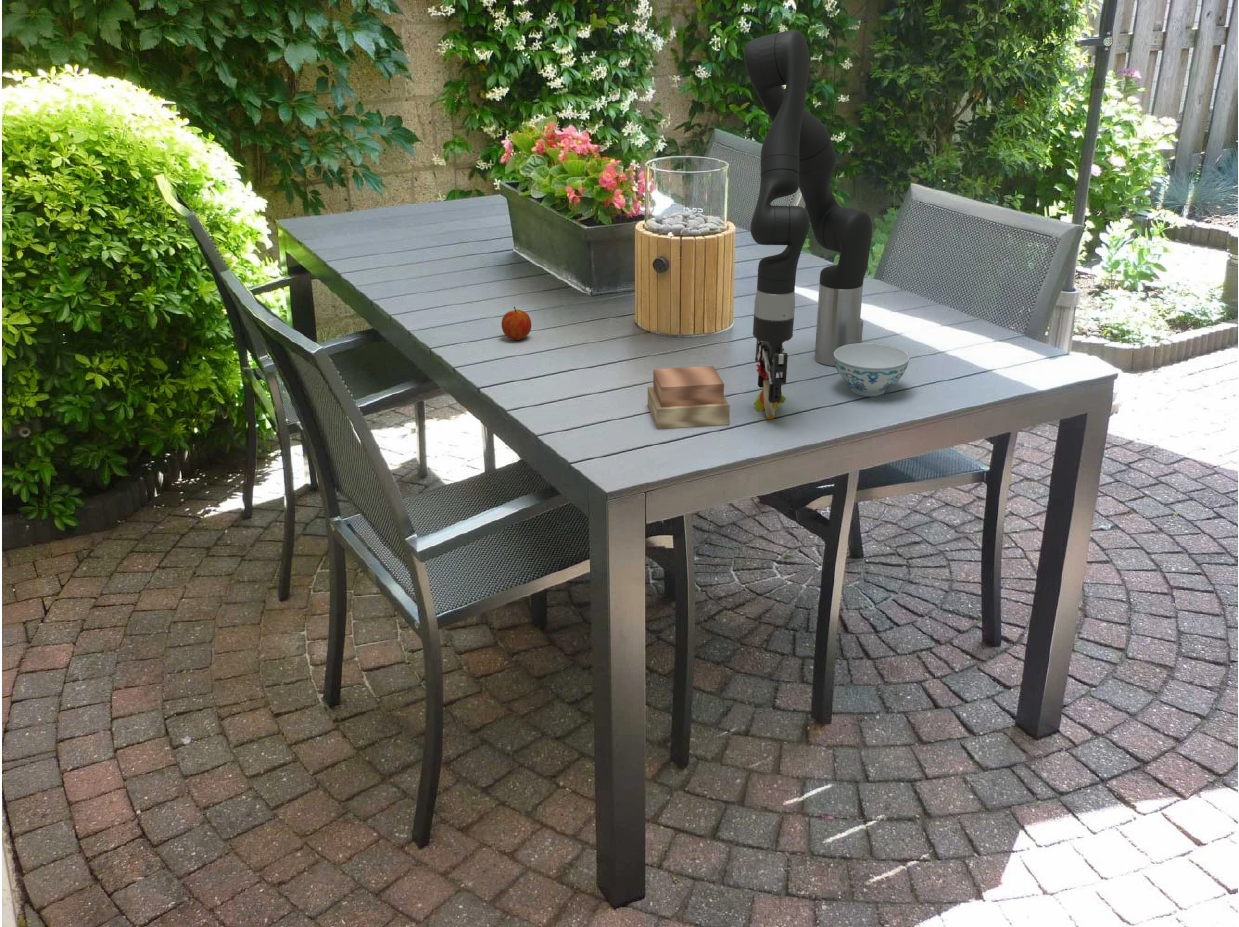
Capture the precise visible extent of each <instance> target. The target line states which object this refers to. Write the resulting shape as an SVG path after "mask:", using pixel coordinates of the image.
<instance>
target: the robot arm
mask: <svg viewBox="0 0 1239 927" xmlns="http://www.w3.org/2000/svg"><path fill="white" fill-rule="evenodd" d="M743 60H744V68H745V70H746V73H747V75H748V78H749V81H750V83H751V85H752V87H753V89H754V91H755V92H756V95H757V96H758V98H759V100H760V102H761V104H762V105H763V107H764V109H765V111H766V113H767V115H768V116H769V118H770V122H771V125H770V126H769V129H768V130H767V132H766V134H765V135H764V136H765V137H764V138H763V139H764V140H763V142H762V146H761V150H760V182H759V183H760V185H759V193H758V198H757V201H756V205H755V208H754V211H753V215H752V218H751V221H750V235H751V237H752V238H753V239H752V240H753V241H754V243H756V244H757V245H762V246H786V247H785V249H784V250H783V251H782V252H781V253H778V254H774V255H770V256H765V257H763V258H761V259H760V260H759V262H758V266H757V282H756V283H757V284H756V285H757V286H756V292H755V297H754V307H753V309H754V310H753V323H752V324H753V326H752V327H753V328H752V336H753V337H754V338H755V339H756V346H755V358H754V361H755V363H756V365H757V364H758V365H760V366H762V367H763V368H765V370H766V373H768V374H769V395H768V400H769V402H770V403H778V402H780V399H781V391H782V385H786V384H787V372H788V358H789V355H788V353H787V352H785V349H784V348H783V343H785V342H787V341H790V340H791V339H792V338H793V335H794V324H795V311H796V310H795V309H796V295H795V294H796V293H795V291H796V290H795V289H796V279H797V268H798V264H799V260H800V256H801V252H802V250H803V248H804V245H805V243H806V239H807V238H808V235H809V231H810V226H811V229H812V233H813V235H814V238H815V240H816V242H817V243H818V245H819V246H821V247H822V248H823V249H826V250H828V251H831V252H836V253H839V259H838V263H837V264H833V265H829V266H826V267H824V268H822V270H820V273H819V285H818V299H817V312H816V313H817V314H816V316H817V317H816V328H815V329H816V332H815V344H814V345H815V348H814V360H815V361H816V362H817V363H819V364H823V365H826V366H832V367H833V366H834V367H836V365H835V361H834V351H835V350H836V349H837V348H839V347H841V346H844V345H849V344H856V343H863V331H864V330H863V329H864V320H863V319H862V318H861V316H862V315H861V314H862V303H863V289H864V280H865V279H864V278H865V276H866V273H867V270H868V266H869V260H870V259H869V258H870V254H871V253H870V252H871V246H872V245H871V244H872V237H873V224H872V223H873V222H872V219H871V216H870V215H869V213H867V212H866V211H864V210H860V209H854V208H850V207H845V206H841V205H840V204H839V203H838V202H837V199H836V198H835V196H834V194H833V190H832V187H831V183H832V180H833V176H834V173H835V170H836V165H837V154H836V150H835V146H834V143H833V142H832V138H831V137H830V133H829V131H828V129H827V127H826V125H825V124H824V123H823V122H822V121H821V120H820V119H819V118H817V117H816V116H815V115H814V114H813V113H811V112H810V111H809V110H807V109H805V104H806V98H807V90H808V89H807V88H808V83H809V82H808V81H809V75H810V51H809V45H808V42H807V40H806V38H805V36H804V34H803V33H802V31H800V30H798V29H789V30H784V31H781V32H780V31H779V32H776V33H772V34H766V35H765V36H760V37H756V38H754V39H752V40H750V41H748V42H747V43H746V45H745V47H744V50H743ZM783 86H785V89H784V88H783ZM798 190H799V191H800V193H801V196H802V199H803V202H804V204H805V208H806V209H805V208H804V207H803V206H799V205H771V204H772V202H773V201H774V200H776V199H781V198H785V197H788V196H791V195H794V194H795V193H797V191H798ZM757 374H758V375H757V386H758V387H759V388H760V389H763V388H764V387H763V380H764V377H762V376H761V375H759V373H758V372H757ZM777 374H778V377H777Z"/></svg>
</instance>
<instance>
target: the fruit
mask: <svg viewBox="0 0 1239 927" xmlns="http://www.w3.org/2000/svg"><path fill="white" fill-rule="evenodd" d="M513 309H514V310H509V311H507V312H505V314H504V315H503V316H502V318H501V329H502V332H503V334H504V335H505V336H506V337H507V338H509V339H510V338H511V339H510V340H512V339H521V340H523V339H524V338H526V337H527V336H528V335H529V334H530V332H531V331H532V330H531V329H532V319H531V316H530V315H529V314H528V313H527V312H526V311H524V310H521V309H518V308H516V307H515V306H513ZM522 338H523V339H522Z"/></svg>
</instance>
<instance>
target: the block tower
mask: <svg viewBox="0 0 1239 927" xmlns="http://www.w3.org/2000/svg"><path fill="white" fill-rule="evenodd" d="M652 373H653V374H652V375H653V377H652V378H653V379H652V380H653V382H652V384H653V385H652V386H647V408H648V410H649V413H650V414H651V418H652V419H653V422H654V425H655V427H656V429H657V430H662V429H663V430H664V429H676V428H677V429H679V428H693V427H708V426H709V427H710V426H726V425H730V414H731V413H730V411H731V407H730V406H731V405H730V403H729V401H728V398H726V396H725V383H724V381H723V380H722V377H721V376H720V374H719V373H718V371H717V370H716V368H715V366H714V365H708V366H707V365H706V366H690V367H689V366H688V367H671V368H670V367H669V368H656V369H655V368H654V369H653V372H652Z"/></svg>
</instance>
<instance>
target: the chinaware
mask: <svg viewBox="0 0 1239 927" xmlns="http://www.w3.org/2000/svg"><path fill="white" fill-rule="evenodd" d="M834 361H835V365H836V366H835V368H836V370H837V373H838V375H839V376H840V378H841V379H842V380H843V382H845V383H846V385H848V386H849V387H851V391H852V392H853V393H854V392H855V393H854V394H857V395H858V394H859V395H860V396H862V395H863V397H877V396H878V395H879V396H882V395H883V394H885V393H884V392H886V390H887V389H889V388H891V387H892V386H894V385H895V384H896V383H898V382H899V380H900V379H901V378H902V377H903V376H904V374H905V372H906V370H907V368H908V365H909V361H910V355H909V354H908V352H906V351H905V350H903V349H901V348H898V347H896V346H892V345H888V344H882V343H873V342H862V343H856V344H849V345H844V346H841V347H839V348H837V349H836V350H835V351H834ZM881 394H882V395H881ZM859 395H858V396H859Z"/></svg>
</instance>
